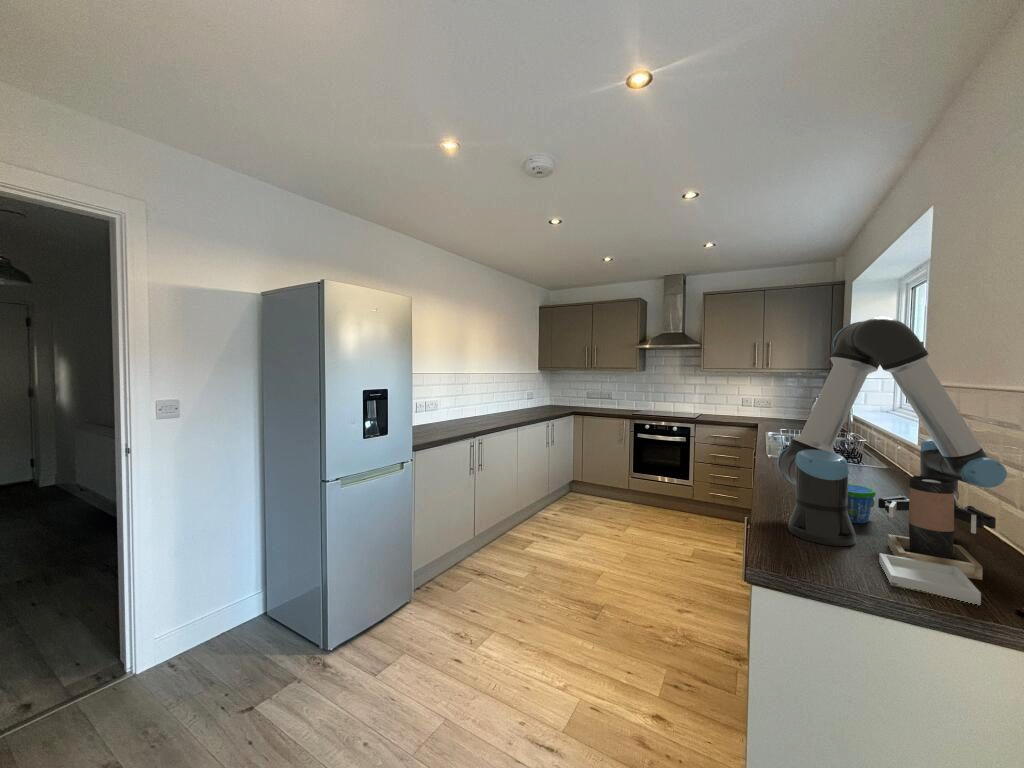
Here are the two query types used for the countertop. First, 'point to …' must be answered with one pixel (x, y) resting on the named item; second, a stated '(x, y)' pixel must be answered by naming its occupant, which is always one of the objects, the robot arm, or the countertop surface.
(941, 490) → the travel mug
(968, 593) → the grey tray
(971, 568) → the wooden holder
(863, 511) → the snack cup
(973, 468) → the robot arm
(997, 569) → the countertop surface
